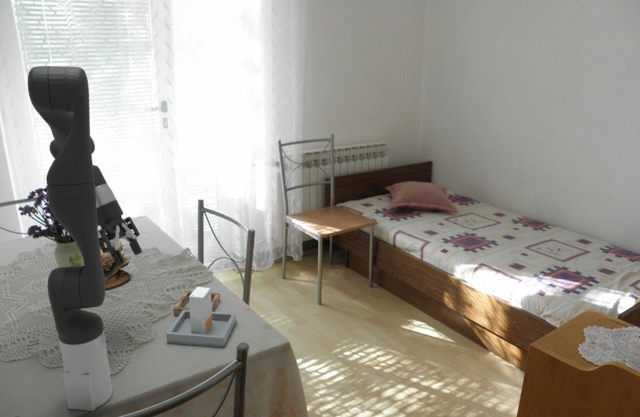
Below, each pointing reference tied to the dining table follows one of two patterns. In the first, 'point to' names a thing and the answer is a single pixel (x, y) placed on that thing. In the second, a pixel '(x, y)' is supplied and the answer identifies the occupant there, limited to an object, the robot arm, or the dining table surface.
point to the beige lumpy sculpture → (114, 269)
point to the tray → (213, 337)
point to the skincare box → (200, 310)
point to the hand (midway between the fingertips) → (130, 258)
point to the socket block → (181, 303)
